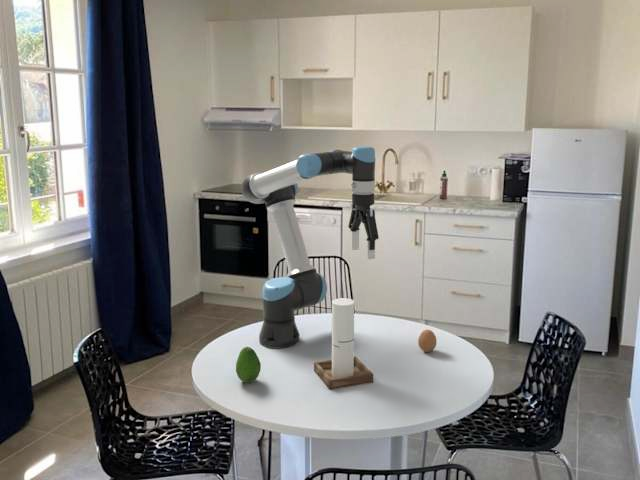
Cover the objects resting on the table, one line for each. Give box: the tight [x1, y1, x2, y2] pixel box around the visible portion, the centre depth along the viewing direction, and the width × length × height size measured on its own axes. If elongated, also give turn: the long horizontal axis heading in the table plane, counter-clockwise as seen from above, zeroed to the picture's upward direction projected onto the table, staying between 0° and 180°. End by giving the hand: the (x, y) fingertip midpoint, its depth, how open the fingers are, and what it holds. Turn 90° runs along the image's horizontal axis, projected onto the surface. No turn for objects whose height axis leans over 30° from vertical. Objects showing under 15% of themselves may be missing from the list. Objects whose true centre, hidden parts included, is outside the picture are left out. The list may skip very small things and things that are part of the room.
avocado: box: [235, 346, 261, 384], centre depth 208 cm, size 8×8×12 cm
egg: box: [417, 329, 437, 353], centre depth 232 cm, size 6×6×8 cm
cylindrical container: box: [331, 297, 355, 378], centre depth 210 cm, size 7×7×25 cm
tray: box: [313, 355, 374, 391], centre depth 213 cm, size 15×15×3 cm
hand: (362, 254), depth 223 cm, fingers open, 13 cm apart
